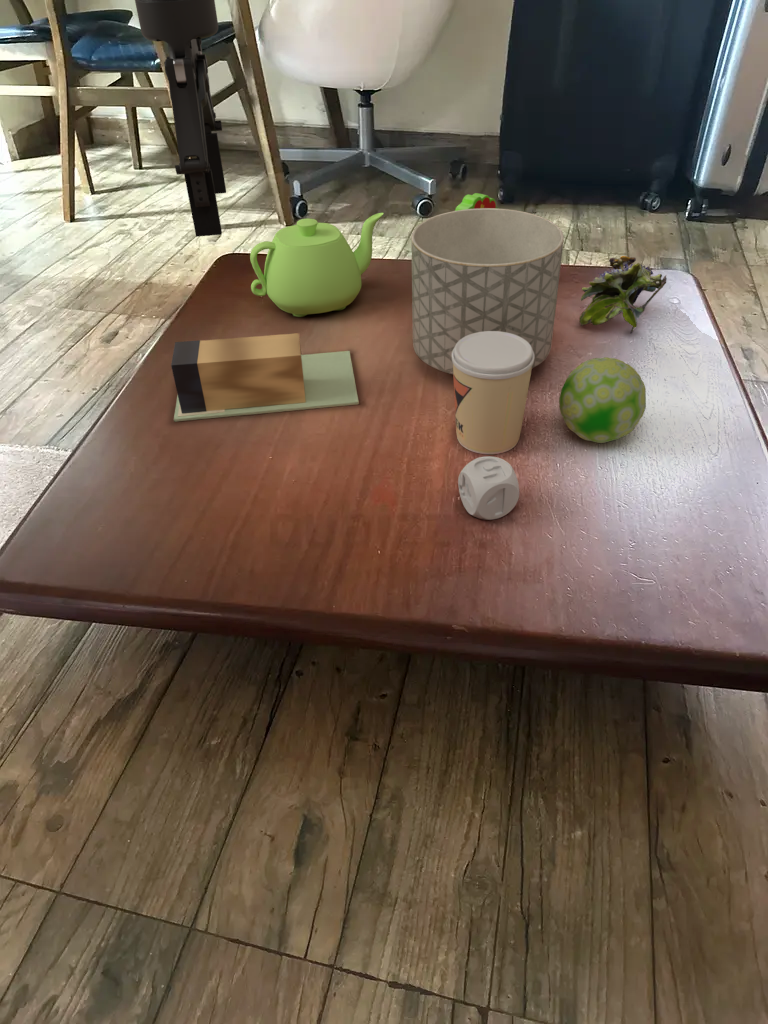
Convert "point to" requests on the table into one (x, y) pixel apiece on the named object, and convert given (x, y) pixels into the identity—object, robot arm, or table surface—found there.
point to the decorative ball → (602, 399)
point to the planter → (483, 280)
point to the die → (488, 487)
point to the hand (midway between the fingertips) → (212, 212)
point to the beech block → (238, 372)
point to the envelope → (323, 388)
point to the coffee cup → (490, 389)
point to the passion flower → (620, 292)
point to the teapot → (312, 267)
